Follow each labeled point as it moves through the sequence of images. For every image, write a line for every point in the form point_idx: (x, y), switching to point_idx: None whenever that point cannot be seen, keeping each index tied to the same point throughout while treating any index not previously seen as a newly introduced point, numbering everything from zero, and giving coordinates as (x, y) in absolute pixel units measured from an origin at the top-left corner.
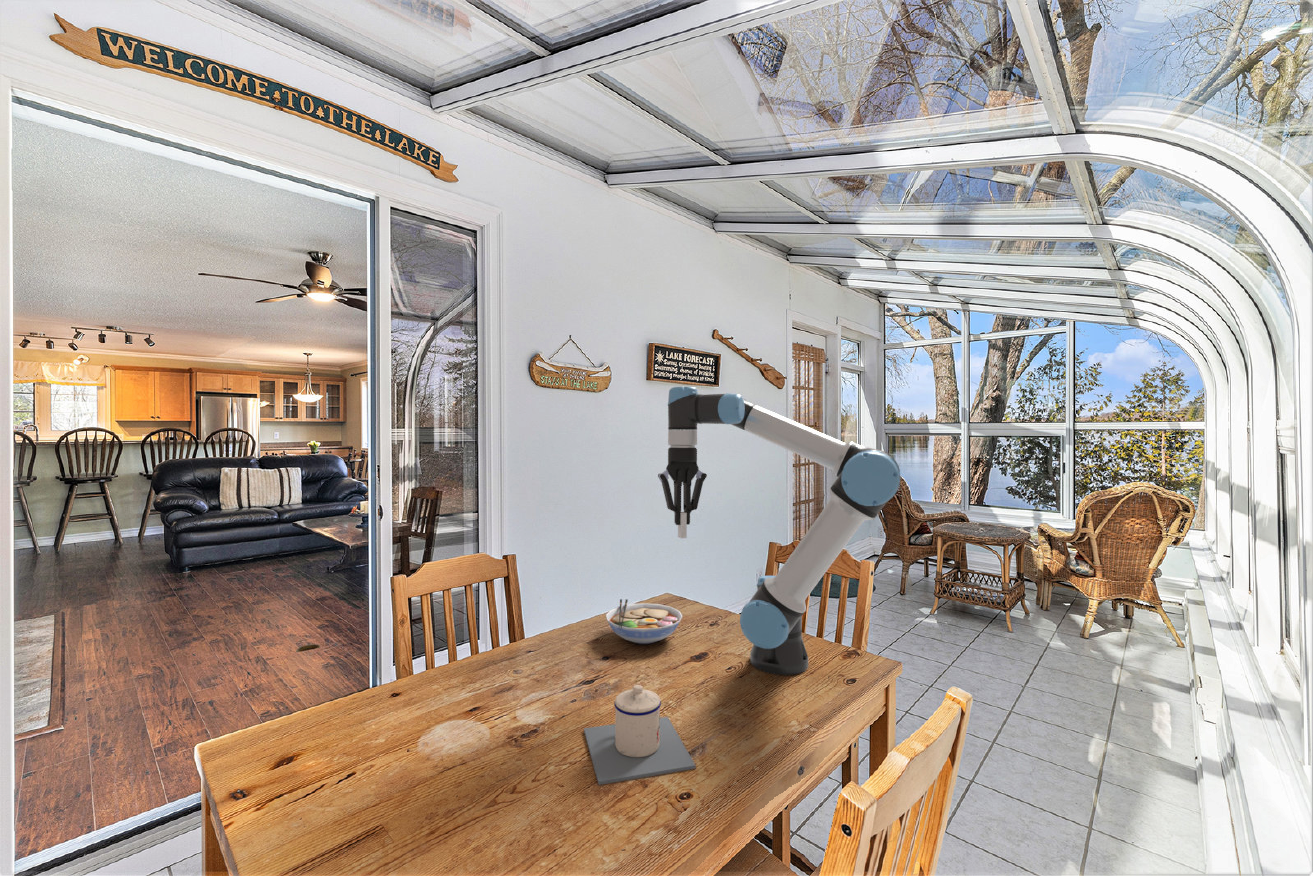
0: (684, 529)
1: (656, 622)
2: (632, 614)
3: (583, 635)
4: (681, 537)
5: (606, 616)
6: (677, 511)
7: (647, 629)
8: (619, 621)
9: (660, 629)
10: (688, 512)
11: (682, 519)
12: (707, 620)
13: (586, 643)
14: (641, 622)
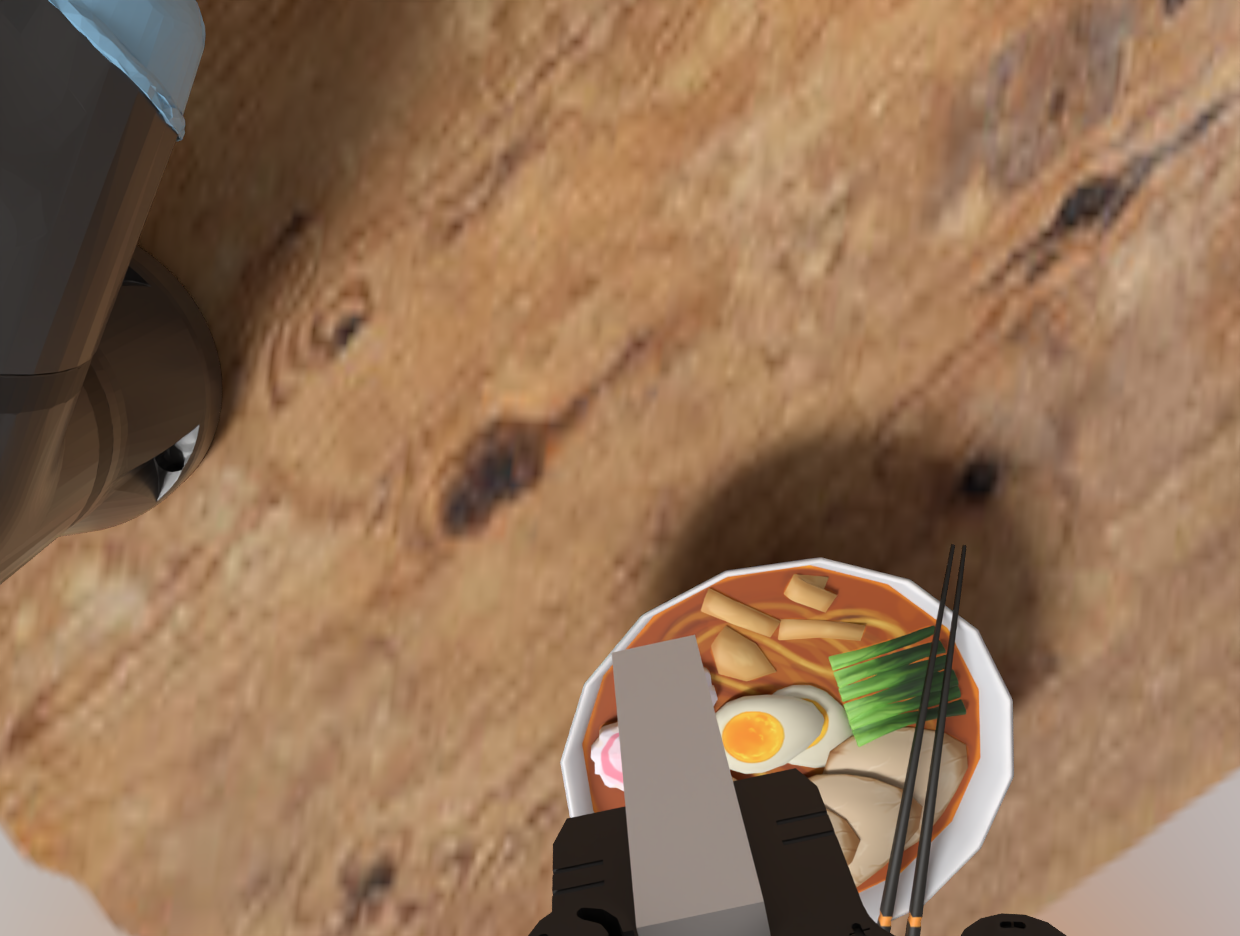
0: (654, 717)
1: (717, 713)
2: (846, 821)
3: (1066, 752)
4: (690, 642)
5: (1011, 755)
6: (859, 922)
7: (792, 561)
8: (950, 657)
9: (711, 578)
10: (599, 908)
11: (712, 818)
12: (399, 930)
13: (1059, 656)
14: (807, 704)
